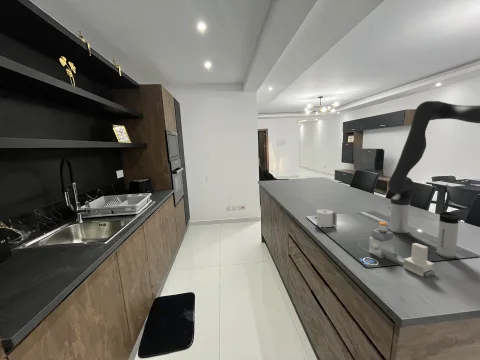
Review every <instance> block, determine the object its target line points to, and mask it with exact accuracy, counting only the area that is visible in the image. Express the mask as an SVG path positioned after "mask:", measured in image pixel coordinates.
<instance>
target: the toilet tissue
mask: <svg viewBox="0 0 480 360" xmlns="http://www.w3.org/2000/svg"><path fill="white" fill-rule="evenodd" d="M337 222H338V213H337V212H335V211H334V210H331V209H327V208H326V209H325V208H324V209H317V210H316V226H317V225H319V226H321V227H332V226H333V227H335V228H336V227H337V226H338V225H337ZM334 225H335V226H334ZM321 227H320V228H321ZM333 227H332V228H333ZM337 228H338V227H337Z"/></svg>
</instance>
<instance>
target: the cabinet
mask: <svg viewBox="0 0 480 360" xmlns="http://www.w3.org/2000/svg"><path fill="white" fill-rule="evenodd" d="M395 241H396V238H394V232H393V231H391V230H389V229H386V233H381V232H379V228H375V229H372V230H371V236H369V244H368V245H369V246H368V247H369V249H368V253H370V254H371V255H373V256H376V257H377V258H379V259H382V258H385V257H384V254H386V253H390V252H392V253H394V254H395V245H396V242H395Z"/></svg>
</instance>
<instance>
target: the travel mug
mask: <svg viewBox="0 0 480 360" xmlns="http://www.w3.org/2000/svg"><path fill="white" fill-rule="evenodd" d="M459 219H460V216H458V215H457V214H454V213H450V212H447V211H442V212H440V213H439V220H438V232H437V242H436V243H437V244H436V254H437V255H438V256H439V255H440V257H442V256H443V257H442V258H445V257H447V258H446V259H455V258H456V253H457V252H456V251H457V242H458V241H457V240H458V233H459V232H458V231H459V222H460V221H459Z"/></svg>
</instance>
